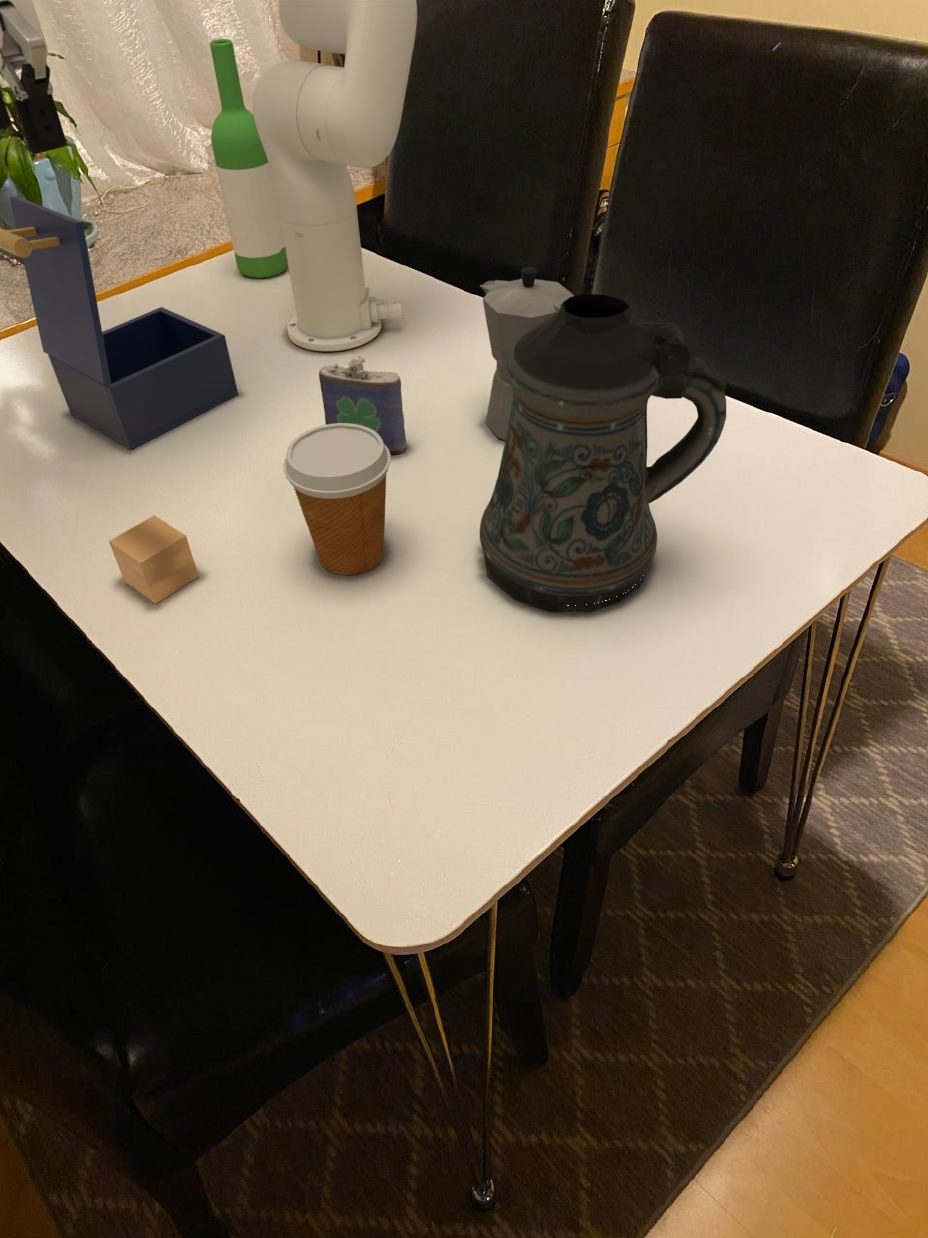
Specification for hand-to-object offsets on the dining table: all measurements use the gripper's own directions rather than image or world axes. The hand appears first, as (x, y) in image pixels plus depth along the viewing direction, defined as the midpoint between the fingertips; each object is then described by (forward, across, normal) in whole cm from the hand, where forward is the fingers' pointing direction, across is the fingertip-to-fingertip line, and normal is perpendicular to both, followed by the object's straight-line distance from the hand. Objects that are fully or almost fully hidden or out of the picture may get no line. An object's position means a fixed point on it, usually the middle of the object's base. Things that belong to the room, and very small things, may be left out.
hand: (20, 139), depth 79 cm
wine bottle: (+32, +29, -42) cm, 61 cm away
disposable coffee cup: (+33, -32, -5) cm, 46 cm away
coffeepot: (+32, -31, -34) cm, 56 cm away
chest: (+32, +7, -9) cm, 34 cm away
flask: (+33, -19, -19) cm, 42 cm away
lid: (+16, +7, -2) cm, 18 cm away
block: (+33, -21, +10) cm, 40 cm away
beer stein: (+33, -49, -19) cm, 62 cm away
